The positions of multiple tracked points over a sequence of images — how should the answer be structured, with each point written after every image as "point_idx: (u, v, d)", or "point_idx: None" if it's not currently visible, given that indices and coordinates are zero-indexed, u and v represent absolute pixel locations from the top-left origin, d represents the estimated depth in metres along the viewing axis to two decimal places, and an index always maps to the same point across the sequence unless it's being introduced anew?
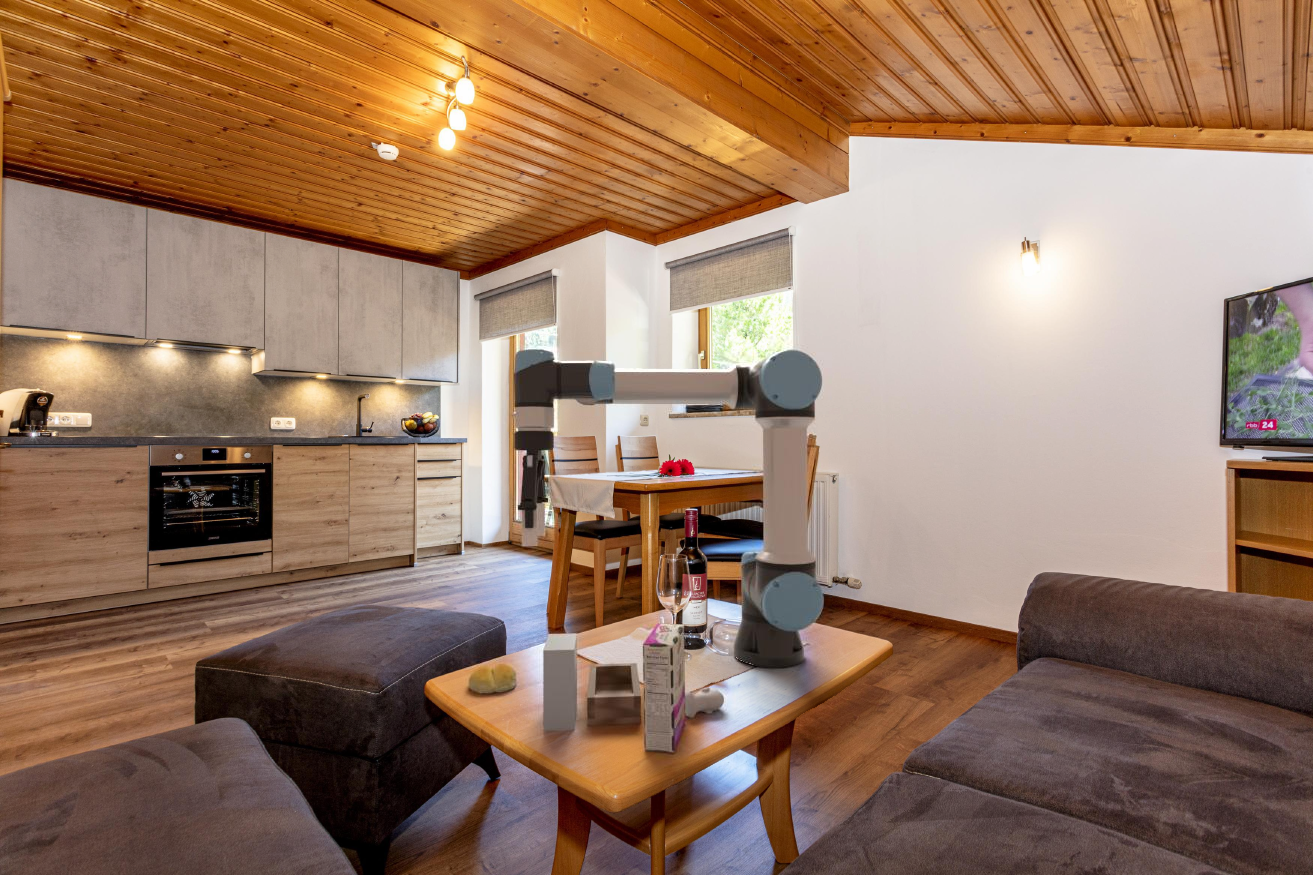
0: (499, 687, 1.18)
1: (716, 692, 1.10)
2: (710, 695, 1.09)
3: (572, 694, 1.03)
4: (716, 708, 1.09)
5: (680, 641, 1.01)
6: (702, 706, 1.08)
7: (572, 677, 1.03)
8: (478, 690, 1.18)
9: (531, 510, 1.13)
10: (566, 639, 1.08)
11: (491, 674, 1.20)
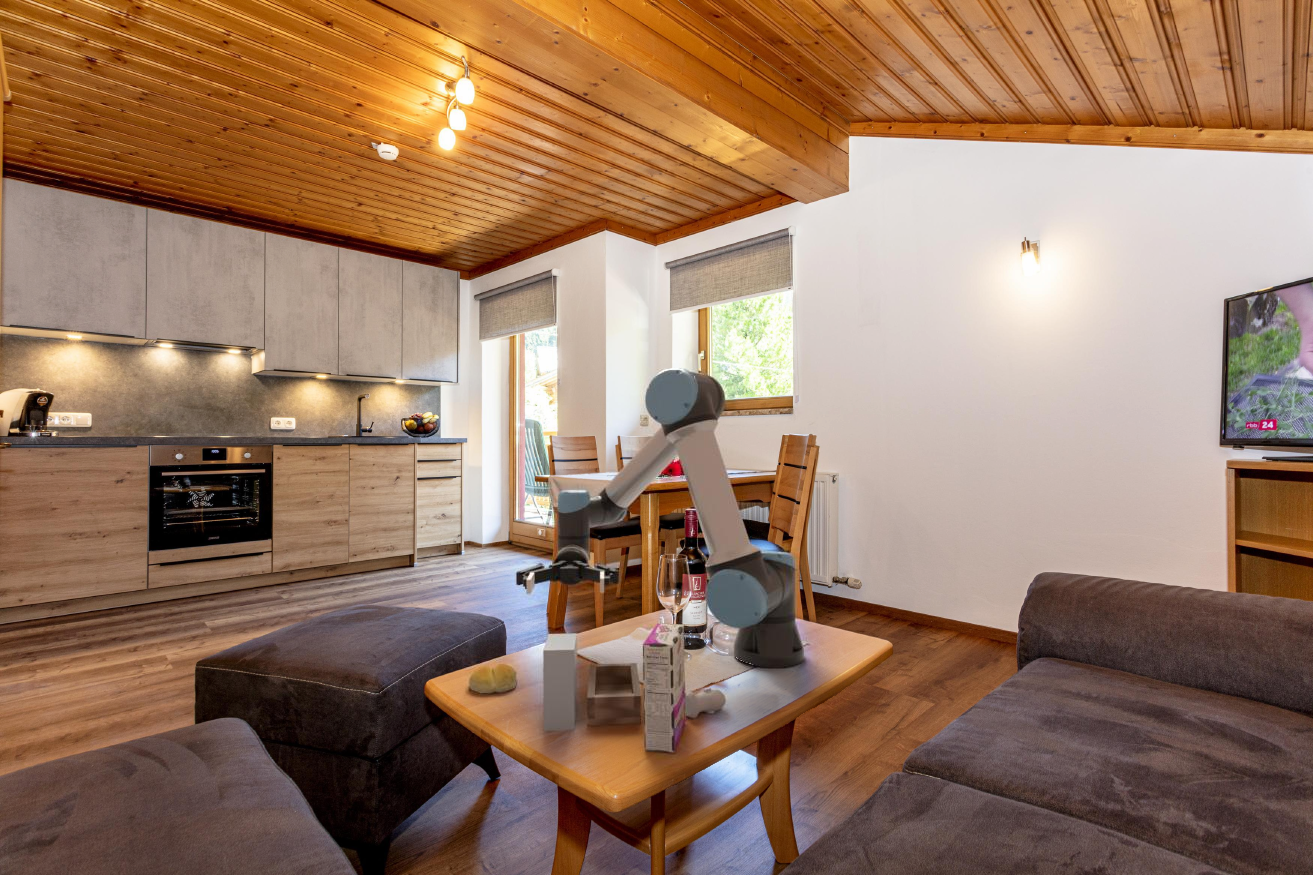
0: (499, 687, 1.18)
1: (718, 692, 1.10)
2: (712, 695, 1.09)
3: (572, 694, 1.03)
4: (718, 708, 1.09)
5: (680, 641, 1.01)
6: (704, 707, 1.08)
7: (572, 677, 1.03)
8: (478, 690, 1.18)
9: (523, 576, 1.24)
10: (566, 639, 1.08)
11: (492, 674, 1.20)
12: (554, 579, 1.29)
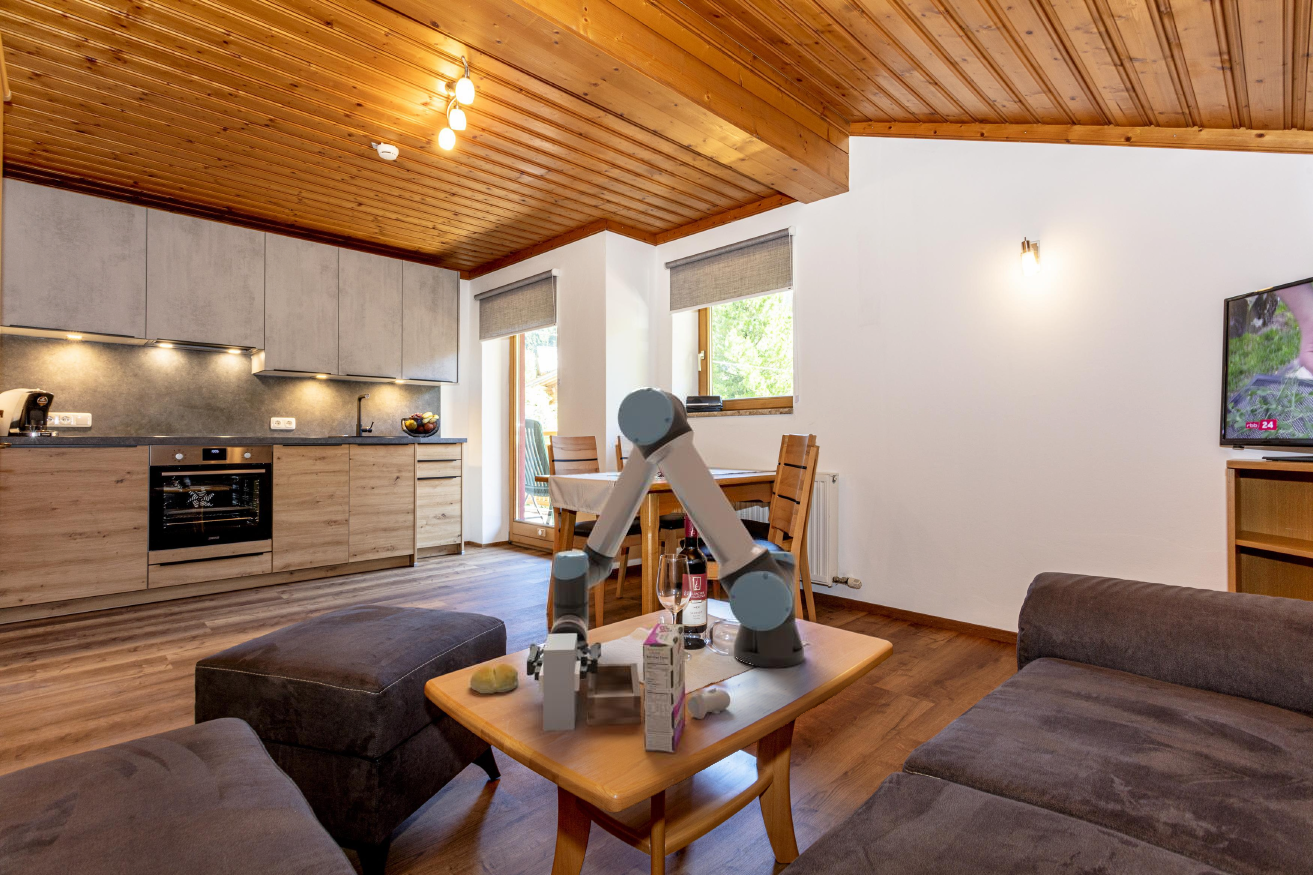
0: (501, 687, 1.18)
1: (723, 692, 1.10)
2: (717, 696, 1.09)
3: (572, 694, 1.03)
4: (723, 708, 1.09)
5: (680, 641, 1.01)
6: (711, 707, 1.08)
7: (572, 677, 1.03)
8: (480, 690, 1.18)
9: (535, 666, 1.09)
10: (566, 639, 1.08)
11: (493, 674, 1.20)
12: None
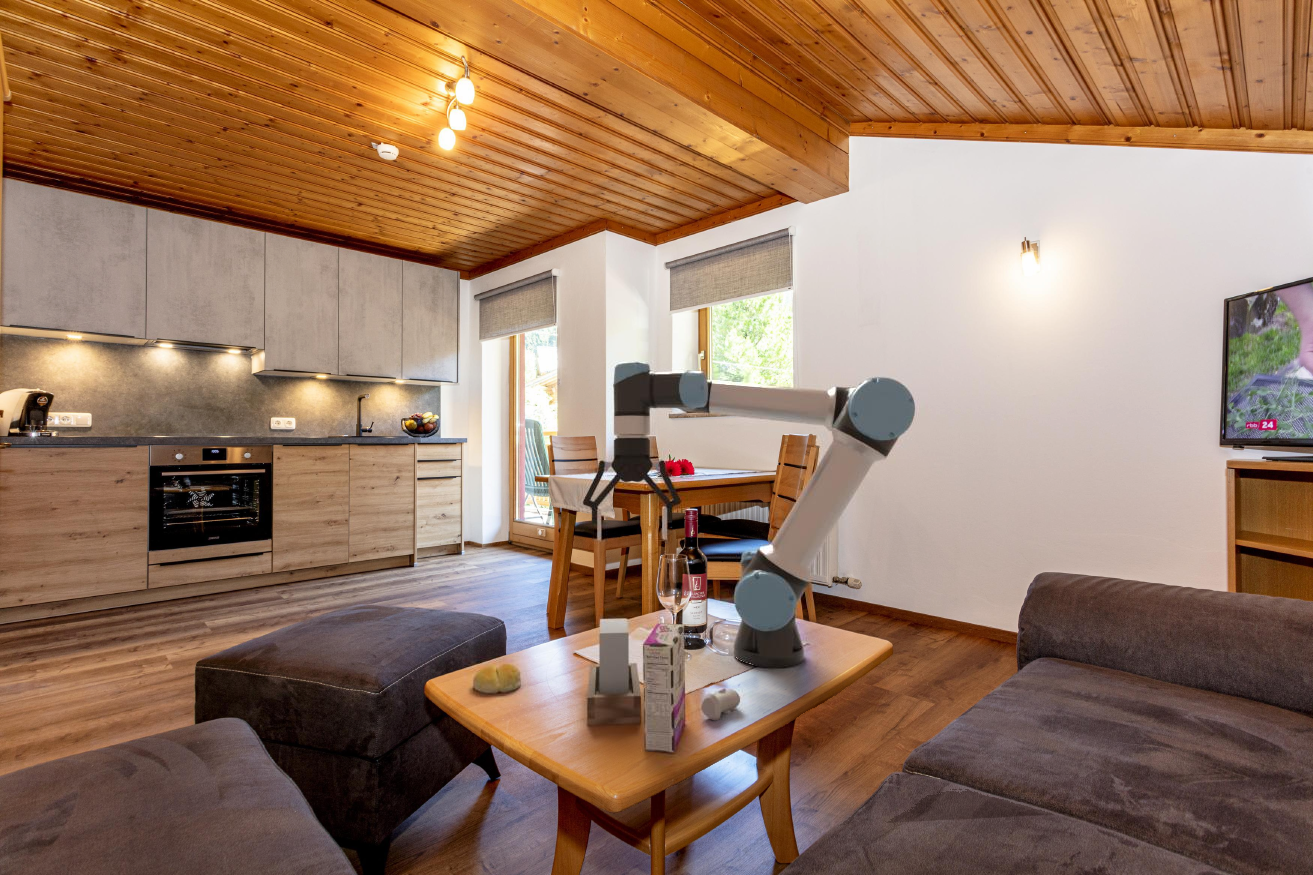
0: (503, 687, 1.18)
1: (733, 691, 1.10)
2: (729, 695, 1.09)
3: (626, 675, 1.09)
4: (734, 707, 1.09)
5: (680, 641, 1.01)
6: (724, 707, 1.08)
7: (626, 659, 1.09)
8: (482, 689, 1.18)
9: (591, 508, 1.30)
10: (618, 624, 1.14)
11: (496, 674, 1.20)
12: None
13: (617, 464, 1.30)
